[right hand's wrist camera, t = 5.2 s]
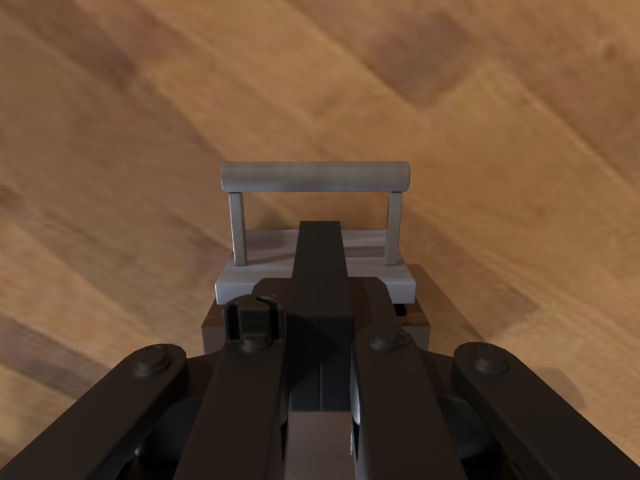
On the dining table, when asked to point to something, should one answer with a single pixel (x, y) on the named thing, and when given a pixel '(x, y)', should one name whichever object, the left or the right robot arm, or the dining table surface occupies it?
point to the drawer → (280, 245)
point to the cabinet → (320, 427)
